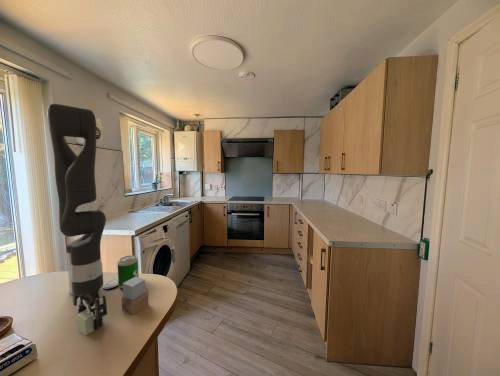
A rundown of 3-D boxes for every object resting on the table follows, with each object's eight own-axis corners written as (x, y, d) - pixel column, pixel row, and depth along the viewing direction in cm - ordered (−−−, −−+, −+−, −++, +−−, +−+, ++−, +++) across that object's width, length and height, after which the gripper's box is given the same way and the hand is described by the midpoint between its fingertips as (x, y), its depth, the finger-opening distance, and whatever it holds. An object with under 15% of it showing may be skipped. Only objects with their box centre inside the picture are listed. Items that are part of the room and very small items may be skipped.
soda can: (129, 291, 81) (128, 263, 80) (114, 288, 83) (112, 261, 82) (142, 281, 88) (141, 255, 87) (128, 279, 90) (127, 253, 89)
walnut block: (122, 310, 70) (121, 296, 70) (137, 300, 76) (137, 287, 75) (133, 315, 68) (132, 301, 67) (148, 304, 73) (148, 292, 73)
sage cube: (77, 329, 61) (76, 314, 61) (95, 319, 66) (94, 305, 65) (85, 335, 59) (84, 320, 59) (104, 324, 64) (103, 309, 63)
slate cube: (123, 296, 70) (122, 283, 69) (136, 289, 74) (135, 276, 74) (132, 300, 68) (132, 286, 67) (145, 292, 72) (145, 279, 72)
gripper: (60, 274, 61) (64, 324, 62) (85, 286, 54) (89, 341, 56) (89, 264, 67) (91, 309, 69) (114, 274, 61) (116, 322, 63)
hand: (90, 323), depth 62 cm, fingers open, 8 cm apart
